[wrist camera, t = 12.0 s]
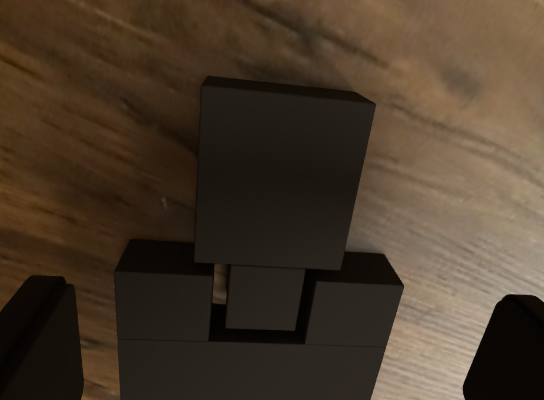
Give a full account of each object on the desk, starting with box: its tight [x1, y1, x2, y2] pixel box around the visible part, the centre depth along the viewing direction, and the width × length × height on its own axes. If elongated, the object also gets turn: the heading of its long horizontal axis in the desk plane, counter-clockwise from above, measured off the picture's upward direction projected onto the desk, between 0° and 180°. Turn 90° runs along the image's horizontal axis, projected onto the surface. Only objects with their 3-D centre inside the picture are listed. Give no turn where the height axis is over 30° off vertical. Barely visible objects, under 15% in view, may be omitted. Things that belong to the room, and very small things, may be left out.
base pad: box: [114, 239, 404, 400], centre depth 23 cm, size 14×12×3 cm
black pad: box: [194, 76, 376, 331], centre depth 19 cm, size 7×12×3 cm, turn 173°
